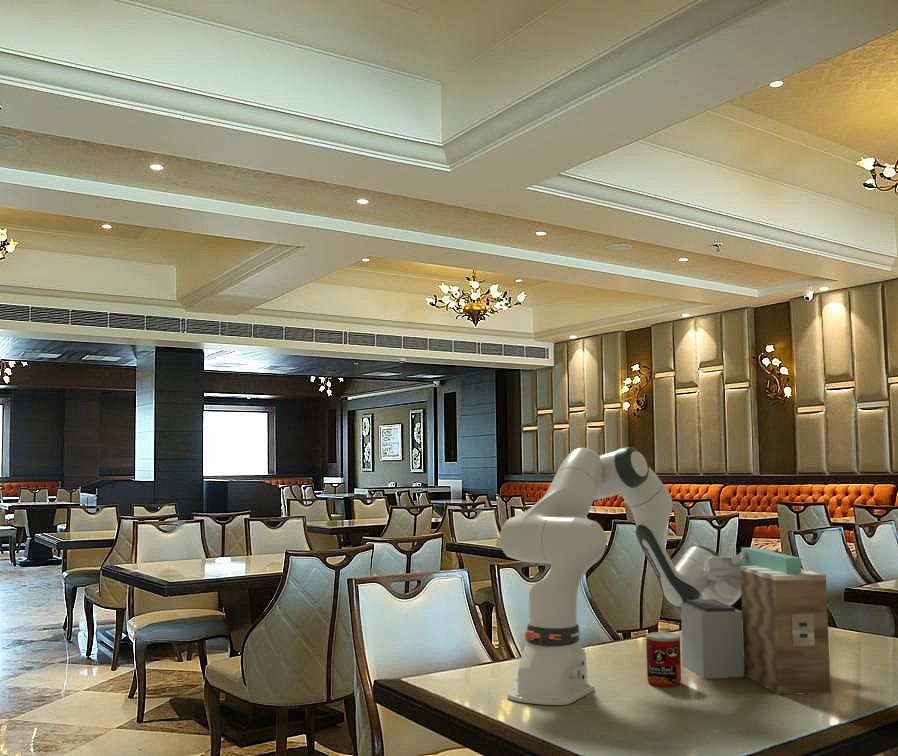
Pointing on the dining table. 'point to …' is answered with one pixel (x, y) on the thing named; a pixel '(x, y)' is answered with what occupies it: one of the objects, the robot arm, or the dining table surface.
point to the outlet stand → (785, 630)
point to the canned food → (663, 659)
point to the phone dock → (712, 639)
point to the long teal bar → (773, 560)
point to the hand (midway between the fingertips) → (754, 554)
